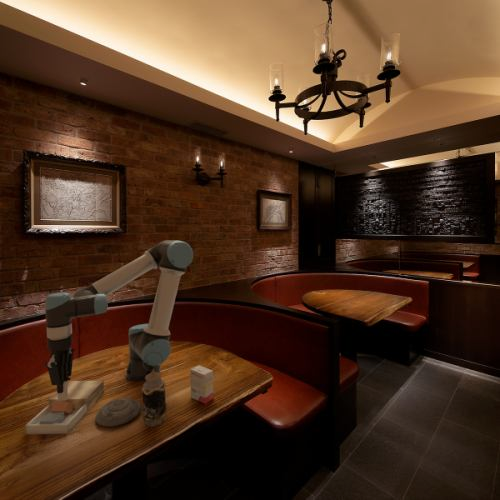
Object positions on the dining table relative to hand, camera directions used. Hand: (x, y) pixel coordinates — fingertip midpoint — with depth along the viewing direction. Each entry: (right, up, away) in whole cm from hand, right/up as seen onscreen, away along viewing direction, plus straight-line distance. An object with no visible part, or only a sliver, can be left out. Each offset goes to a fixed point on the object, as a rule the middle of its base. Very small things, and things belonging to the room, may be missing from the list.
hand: (62, 399), depth 104 cm
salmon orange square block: (0, -4, -1) cm, 4 cm away
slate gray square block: (0, -3, -6) cm, 6 cm away
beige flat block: (0, -6, +9) cm, 11 cm away
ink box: (+49, -5, +11) cm, 51 cm away
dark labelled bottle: (+34, -6, -2) cm, 35 cm away
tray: (0, -7, -3) cm, 7 cm away
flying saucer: (+20, -7, +1) cm, 21 cm away
